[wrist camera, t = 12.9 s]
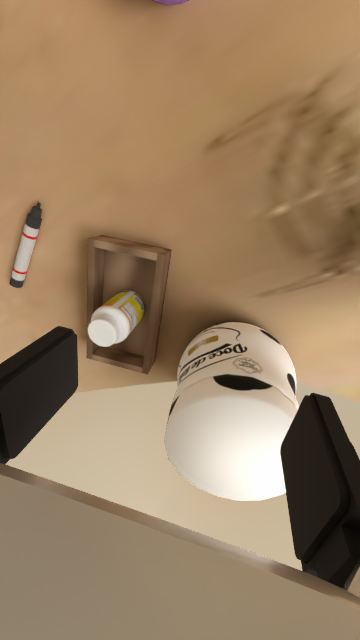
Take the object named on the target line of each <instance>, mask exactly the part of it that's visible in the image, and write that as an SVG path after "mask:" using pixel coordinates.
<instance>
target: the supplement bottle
mask: <svg viewBox="0 0 360 640" xmlns="http://www.w3.org/2000/svg"><path fill="white" fill-rule="evenodd" d="M145 312H146V305H145V302H144V300H143V298H142V297H141V296H140V295H139V294H138V293H136V292H134V291H130V290H125V291H121V292H119V293H118V294H116V295H115V296H114V297H113V298H111V299H110V300H109V301H107V302H106V303H105V304H103V305H102V306H101V307H99V308H98V309H97V310H96V311H95V312H94V313H93V315H92V318H91V323H90V324H89V326H88V335H89V337H90V339H91V340H92V341H93V342H94V343H95V344H97V345H99V346H102V347H108V346H111V345H112V344H115V343H120V342H122V341H123V340H125V339H126V338H127V337H128V335H129V334H130V333H131V332H132V330H133V329H134V328H135V327H136V325H137V324H138V323H139V322H140V320H141V319H142V318H143V317H144V315H145Z"/></svg>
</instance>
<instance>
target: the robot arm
mask: <svg viewBox="0 0 360 640" xmlns="http://www.w3.org/2000/svg"><path fill="white" fill-rule="evenodd" d="M77 387H78V357H77V335H76V334H74V331H73V330H72V329H69V328H65V327H61V326H58V327H56V328H54V329H53V330H51V331H50V332H48V333H47V334H45V335H44V336H42V337H41V338H39V339H38V340H36V341H35V342H33V343H31V344H30V345H28V346H27V347H25V348H24V349H22V350H21V351H19V352H18V353H16V354H15V355H13V356H12V357H10V358H9V359H7V360H5V361H4V362H2V363H1V364H0V640H360V460H359V458H358V455H357V453H356V451H355V449H354V447H353V445H352V444H351V442H350V441H349V439H348V437H347V434H346V432H345V430H344V427H343V425H342V423H341V421H340V419H339V416H338V414H337V412H336V410H335V407H334V405H333V403H332V401H331V399H330V398H329V397H326V396H323V395H319V394H315V393H311V394H310V396H307V395H306V396H305V397H304V398H303V400H302V402H301V404H300V407H299V409H298V411H297V413H296V415H295V417H294V419H293V421H292V423H291V425H290V427H289V429H288V431H287V434H286V436H285V438H284V440H283V442H282V444H281V449H280V455H281V461H282V468H283V475H284V482H285V489H286V495H287V502H288V509H289V516H290V523H291V529H292V536H293V543H294V550H295V555H296V557H297V559H299V560H301V563H302V569H303V571H300V570H297V569H295V568H292V567H289V566H287V565H284V564H282V563H279V562H277V561H274V560H271V559H268V558H266V557H263V556H261V555H258V554H256V553H253V552H250V551H247V550H245V549H242V548H239V547H236V546H233V545H231V544H228V543H225V542H222V541H219V540H217V539H214V538H211V537H209V536H206V535H203V534H200V533H198V532H195V531H192V530H189V529H186V528H184V527H181V526H178V525H175V524H173V523H170V522H167V521H164V520H161V519H159V518H156V517H153V516H150V515H147V514H144V513H142V512H139V511H136V510H133V509H131V508H128V507H125V506H122V505H119V504H116V503H114V502H110V501H108V500H105V499H102V498H99V497H97V496H94V495H91V494H88V493H85V492H82V491H80V490H77V489H74V488H71V487H68V486H65V485H63V484H60V483H57V482H54V481H51V480H48V479H45V478H42V477H39V476H37V475H34V474H31V473H28V472H25V471H22V470H19V469H16V468H14V467H11V466H8V465H5V464H6V463H7V462H8V461H9V460H10V458H11V459H13V458H15V457H16V456H17V455H18V454H19V453H20V452H21V451H22V450H23V449H24V448H25V447H26V446H27V444H28V443H29V442H30V441H31V440H32V439H33V438H34V437H35V436H36V434H37V433H38V432H39V431H40V430H41V429H42V428H43V427H44V426H45V424H46V423H47V422H48V421H49V420H50V419H51V418H52V417H53V416H54V414H55V413H56V412H57V411H58V410H59V409H60V408H61V407H62V406H63V405H64V403H65V402H66V401H67V400H68V399H69V398H70V397H71V396H72V395H73V394H74V392H75V391H76V389H77Z"/></svg>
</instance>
